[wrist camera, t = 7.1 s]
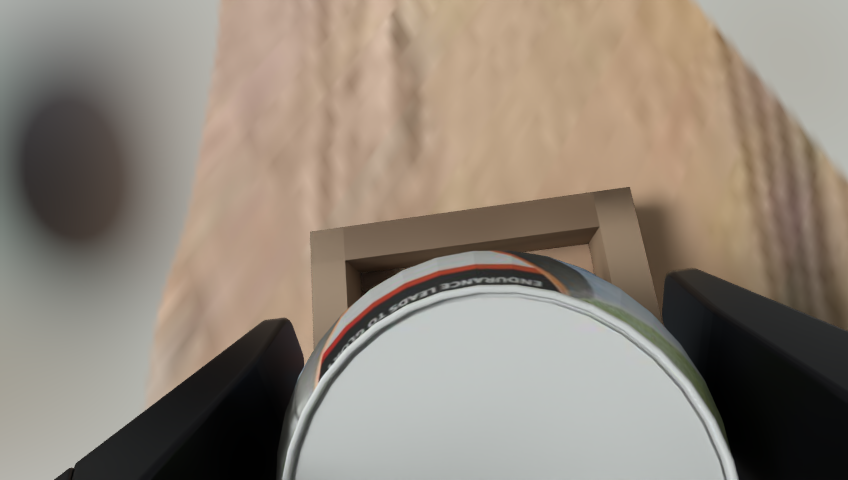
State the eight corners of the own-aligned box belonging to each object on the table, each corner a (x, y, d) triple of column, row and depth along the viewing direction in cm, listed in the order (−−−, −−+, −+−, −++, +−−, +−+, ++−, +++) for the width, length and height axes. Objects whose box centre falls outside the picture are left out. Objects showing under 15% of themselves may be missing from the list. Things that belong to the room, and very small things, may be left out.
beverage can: (538, 274, 18) (658, 57, 6) (611, 497, 15) (1015, 815, 4) (369, 318, 18) (176, 186, 6) (416, 545, 15) (246, 990, 4)
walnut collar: (701, 583, 14) (732, 613, 13) (343, 604, 16) (322, 634, 14) (615, 207, 18) (629, 186, 16) (328, 246, 19) (309, 231, 17)
